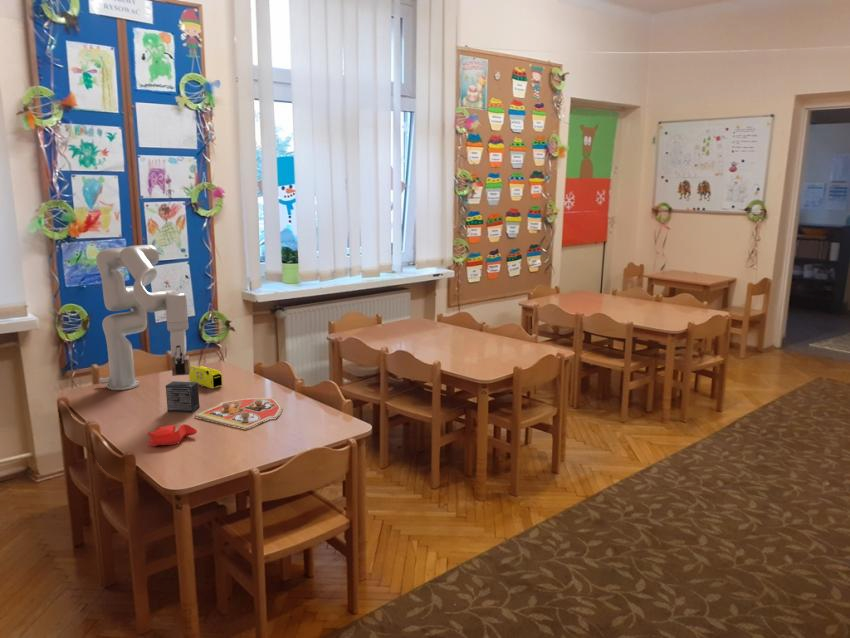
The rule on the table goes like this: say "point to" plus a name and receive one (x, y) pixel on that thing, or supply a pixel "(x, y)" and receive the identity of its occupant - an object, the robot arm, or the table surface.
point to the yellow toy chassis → (205, 376)
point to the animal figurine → (170, 435)
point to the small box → (182, 396)
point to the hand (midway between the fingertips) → (181, 370)
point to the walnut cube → (186, 362)
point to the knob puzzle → (243, 412)
